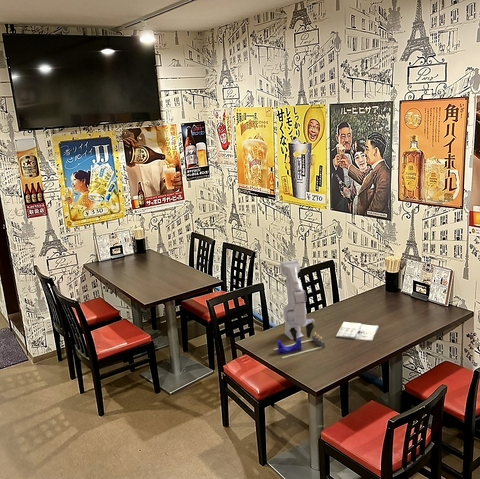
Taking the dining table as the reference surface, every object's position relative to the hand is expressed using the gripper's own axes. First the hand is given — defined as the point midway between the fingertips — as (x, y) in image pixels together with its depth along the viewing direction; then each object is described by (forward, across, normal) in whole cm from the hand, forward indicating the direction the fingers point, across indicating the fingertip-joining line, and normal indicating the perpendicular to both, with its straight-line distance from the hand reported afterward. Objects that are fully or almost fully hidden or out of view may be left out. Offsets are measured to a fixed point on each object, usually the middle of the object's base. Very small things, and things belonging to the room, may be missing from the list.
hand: (301, 339), depth 250 cm
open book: (+11, +39, +9) cm, 42 cm away
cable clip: (+10, -3, +9) cm, 14 cm away
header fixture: (+10, +2, +9) cm, 13 cm away
